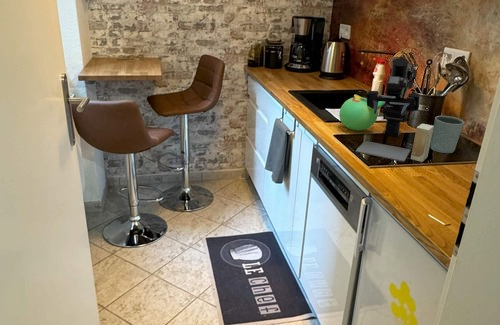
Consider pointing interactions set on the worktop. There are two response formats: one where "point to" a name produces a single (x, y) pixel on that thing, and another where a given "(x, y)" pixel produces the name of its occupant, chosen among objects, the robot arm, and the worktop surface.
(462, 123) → the grey cup
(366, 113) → the green teapot
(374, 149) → the mat
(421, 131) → the skincare box
